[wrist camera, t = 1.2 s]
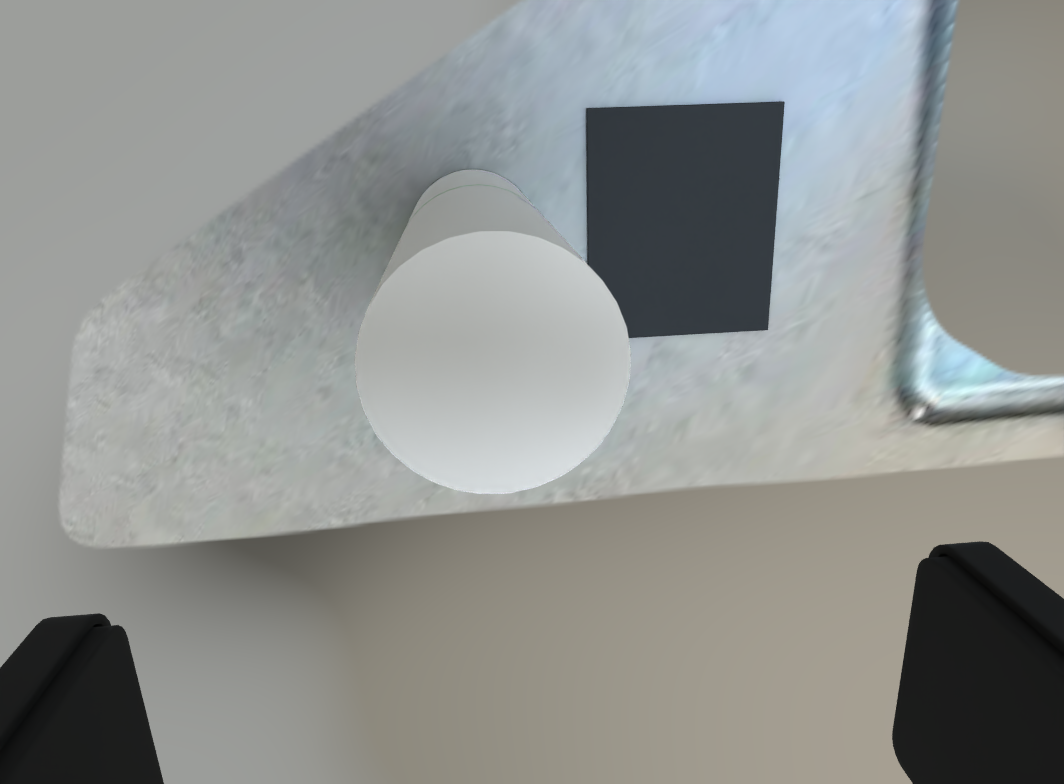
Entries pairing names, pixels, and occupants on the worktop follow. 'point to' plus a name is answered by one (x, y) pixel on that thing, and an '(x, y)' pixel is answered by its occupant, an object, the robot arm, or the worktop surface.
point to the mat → (685, 213)
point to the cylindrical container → (489, 343)
